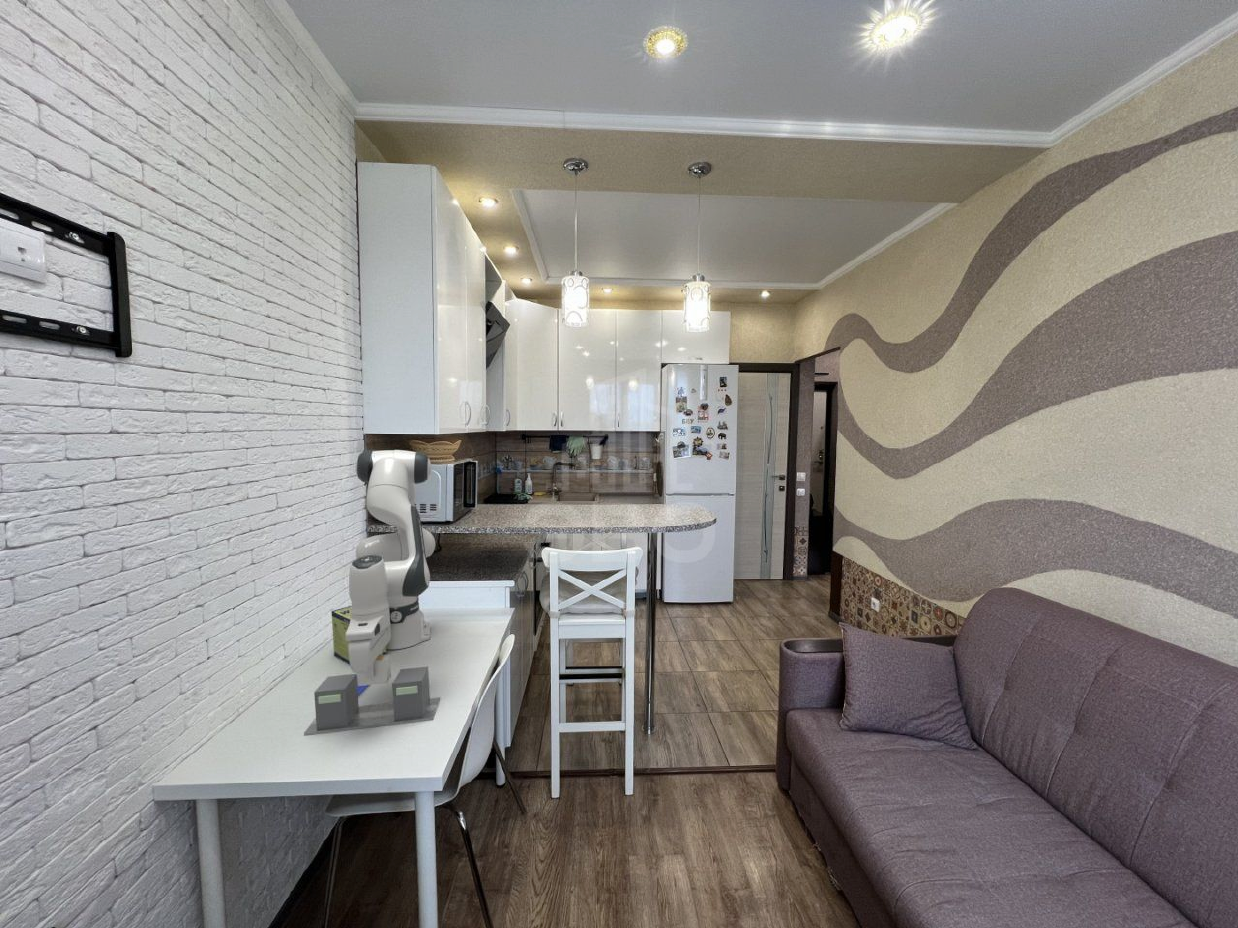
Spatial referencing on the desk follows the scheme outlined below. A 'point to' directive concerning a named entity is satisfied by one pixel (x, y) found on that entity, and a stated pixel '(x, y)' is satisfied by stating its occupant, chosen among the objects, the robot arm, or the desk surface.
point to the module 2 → (411, 693)
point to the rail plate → (376, 717)
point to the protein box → (342, 633)
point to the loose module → (377, 672)
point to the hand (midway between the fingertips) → (374, 672)
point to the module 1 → (336, 701)
